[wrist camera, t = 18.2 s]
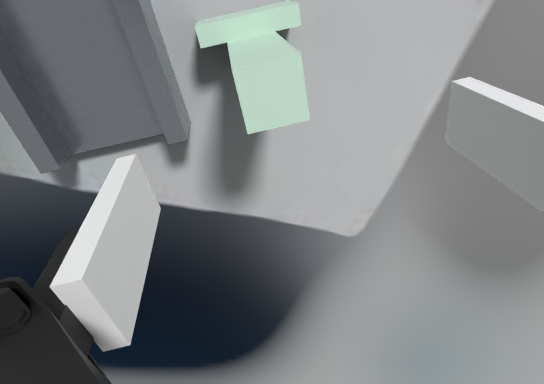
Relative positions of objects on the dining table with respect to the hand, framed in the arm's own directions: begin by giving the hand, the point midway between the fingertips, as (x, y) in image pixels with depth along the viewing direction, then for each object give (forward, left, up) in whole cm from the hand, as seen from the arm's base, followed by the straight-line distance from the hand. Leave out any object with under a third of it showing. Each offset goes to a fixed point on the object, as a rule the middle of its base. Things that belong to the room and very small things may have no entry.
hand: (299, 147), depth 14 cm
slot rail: (-3, -16, -25) cm, 30 cm away
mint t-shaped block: (0, 0, -25) cm, 25 cm away
